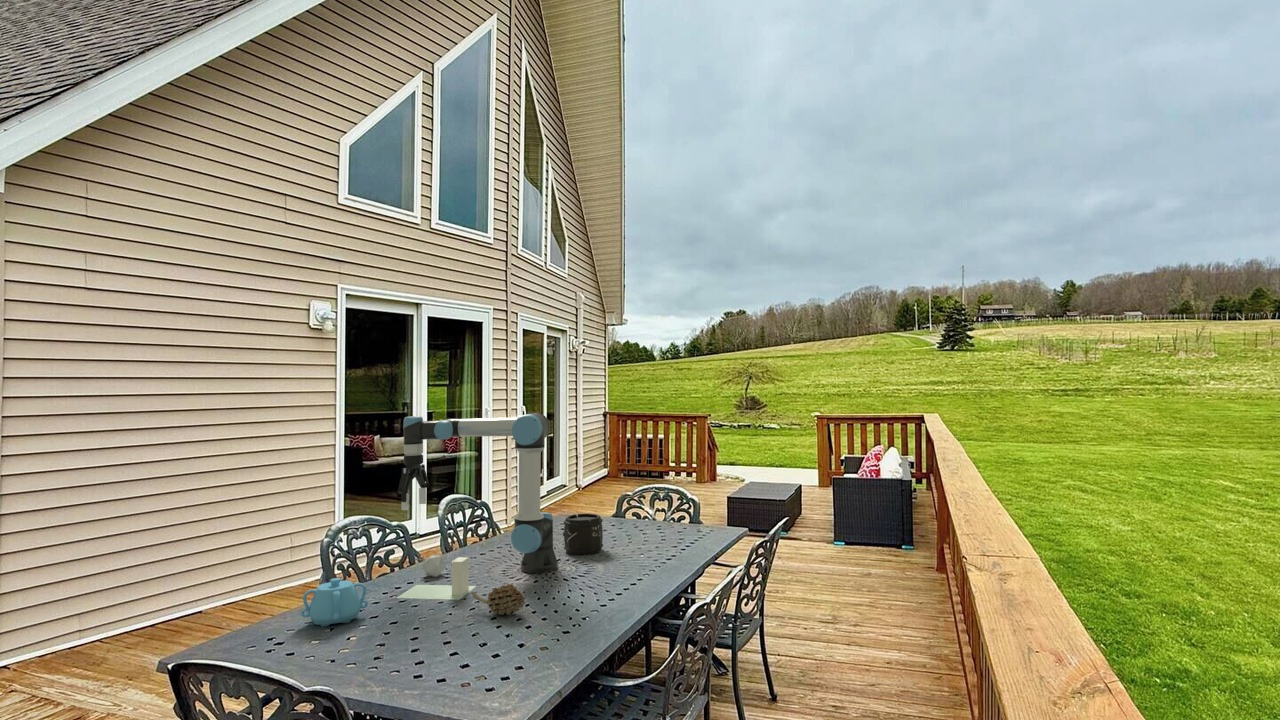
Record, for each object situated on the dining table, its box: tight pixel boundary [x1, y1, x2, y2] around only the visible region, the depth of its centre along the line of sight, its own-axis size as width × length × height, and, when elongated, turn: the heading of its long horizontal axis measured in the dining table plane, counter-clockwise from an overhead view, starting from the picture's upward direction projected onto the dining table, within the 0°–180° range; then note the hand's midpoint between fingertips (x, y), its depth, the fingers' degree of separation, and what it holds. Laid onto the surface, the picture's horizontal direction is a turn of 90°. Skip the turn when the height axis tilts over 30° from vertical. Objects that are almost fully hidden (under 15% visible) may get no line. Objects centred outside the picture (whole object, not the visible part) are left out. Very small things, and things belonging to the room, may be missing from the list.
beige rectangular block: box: [451, 556, 470, 595], centre depth 245 cm, size 4×6×12 cm, turn 172°
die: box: [421, 554, 447, 578], centre depth 268 cm, size 8×9×10 cm
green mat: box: [395, 584, 477, 601], centre depth 246 cm, size 24×16×1 cm, turn 82°
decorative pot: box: [300, 577, 369, 628], centre depth 218 cm, size 16×16×14 cm
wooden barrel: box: [562, 513, 604, 557], centre depth 303 cm, size 18×18×16 cm
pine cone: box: [471, 583, 526, 616], centre depth 222 cm, size 22×10×10 cm, turn 68°
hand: (414, 506), depth 269 cm, fingers open, 13 cm apart
